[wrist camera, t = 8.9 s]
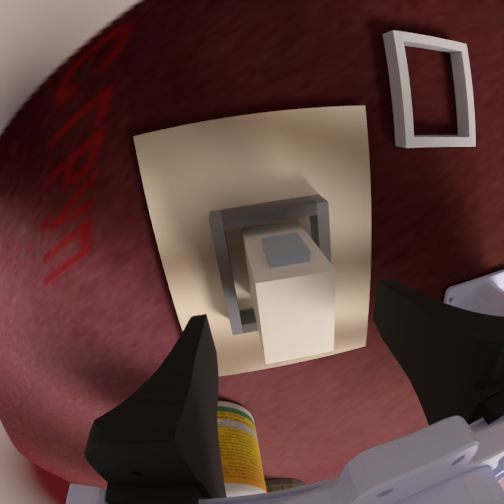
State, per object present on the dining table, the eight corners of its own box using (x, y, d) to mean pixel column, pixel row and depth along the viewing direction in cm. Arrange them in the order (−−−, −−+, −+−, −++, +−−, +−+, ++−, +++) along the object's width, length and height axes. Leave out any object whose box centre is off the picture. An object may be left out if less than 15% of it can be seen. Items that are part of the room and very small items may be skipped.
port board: (362, 341, 22) (373, 359, 20) (198, 373, 21) (198, 394, 19) (360, 105, 16) (378, 105, 14) (135, 135, 15) (125, 138, 13)
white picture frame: (464, 143, 17) (475, 146, 16) (395, 145, 17) (406, 148, 16) (455, 46, 14) (466, 44, 13) (382, 34, 14) (392, 30, 13)
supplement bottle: (233, 445, 26) (246, 554, 15) (168, 430, 24) (163, 547, 14) (268, 408, 24) (294, 533, 13) (194, 388, 22) (195, 529, 12)
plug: (300, 285, 19) (333, 350, 13) (250, 293, 19) (265, 364, 13) (296, 211, 17) (335, 257, 11) (240, 219, 17) (253, 270, 11)
